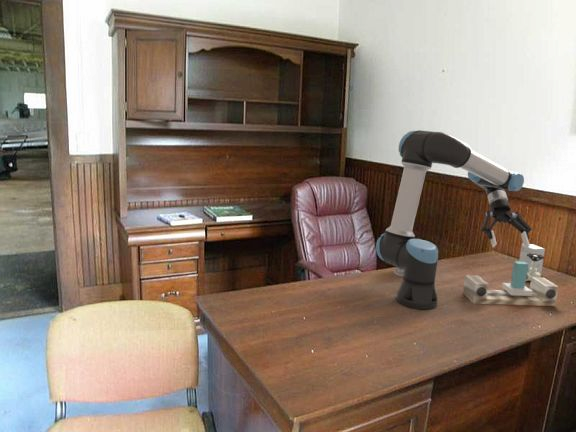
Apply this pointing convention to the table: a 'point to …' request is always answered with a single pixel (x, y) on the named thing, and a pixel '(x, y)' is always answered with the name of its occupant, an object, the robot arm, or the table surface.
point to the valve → (533, 266)
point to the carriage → (518, 281)
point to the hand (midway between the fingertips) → (511, 246)
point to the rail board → (480, 294)
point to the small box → (525, 258)
